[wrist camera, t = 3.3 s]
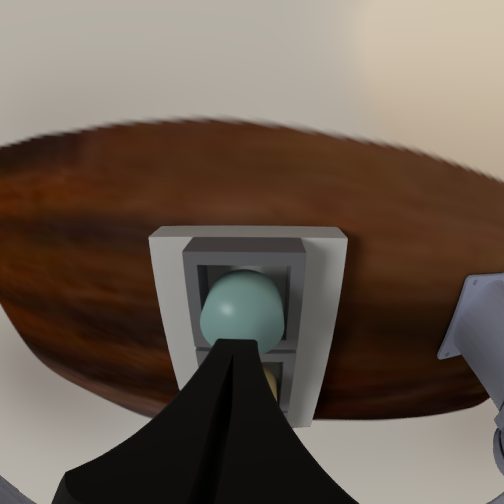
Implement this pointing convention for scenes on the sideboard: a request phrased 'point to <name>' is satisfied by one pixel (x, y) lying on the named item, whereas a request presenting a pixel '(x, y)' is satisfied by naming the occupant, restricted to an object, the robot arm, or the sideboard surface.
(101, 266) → the sideboard surface
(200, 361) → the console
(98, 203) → the sideboard surface
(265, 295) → the teal button
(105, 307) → the sideboard surface
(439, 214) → the sideboard surface
